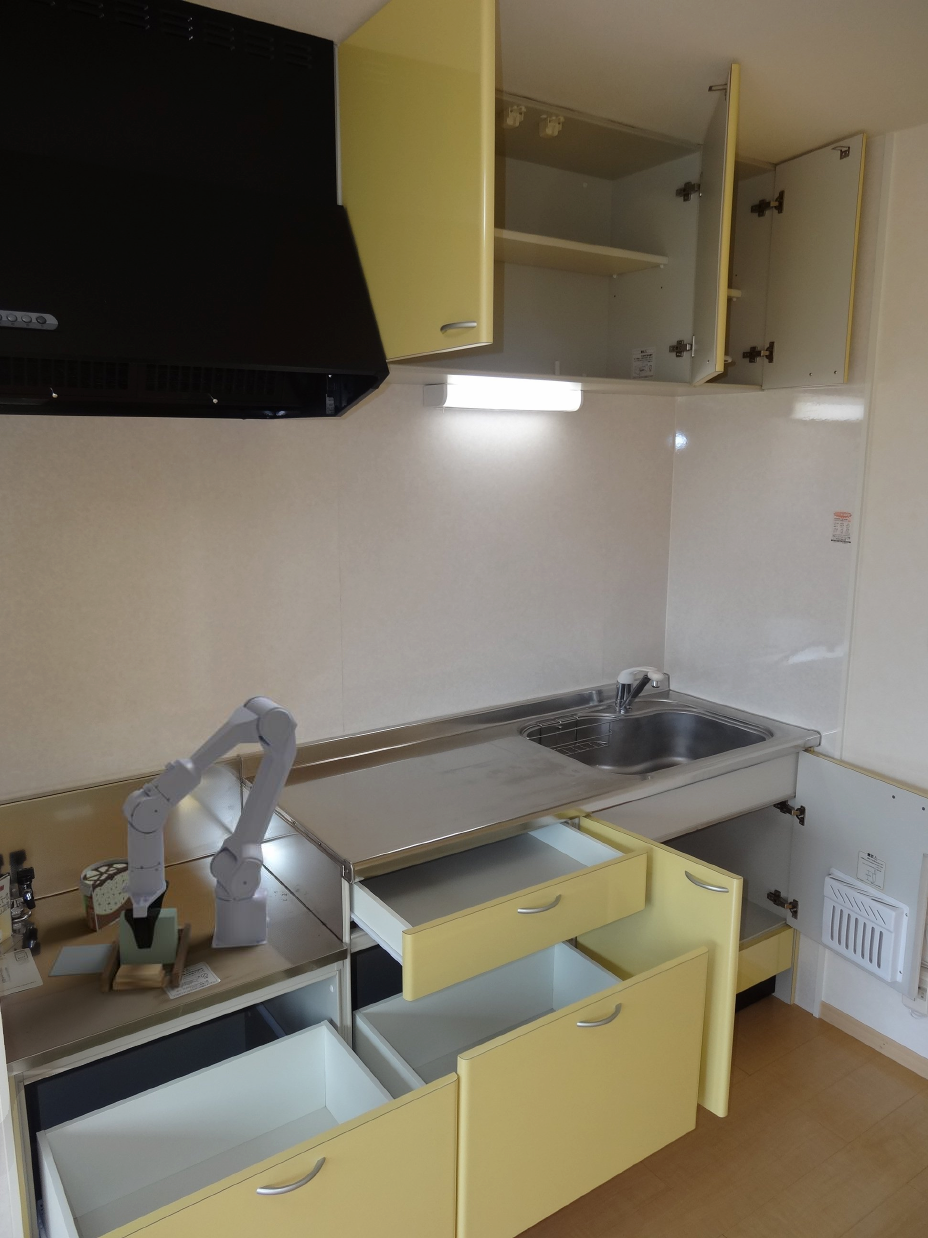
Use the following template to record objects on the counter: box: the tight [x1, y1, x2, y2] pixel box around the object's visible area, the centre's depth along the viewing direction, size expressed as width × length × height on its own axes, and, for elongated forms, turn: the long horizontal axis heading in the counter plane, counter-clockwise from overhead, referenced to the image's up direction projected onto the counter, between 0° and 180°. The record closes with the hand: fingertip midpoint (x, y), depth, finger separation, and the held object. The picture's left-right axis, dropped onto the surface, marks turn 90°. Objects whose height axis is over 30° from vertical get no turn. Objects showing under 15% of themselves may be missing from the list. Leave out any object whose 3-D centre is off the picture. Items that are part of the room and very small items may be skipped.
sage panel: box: [118, 907, 179, 966], centre depth 153 cm, size 9×3×9 cm, turn 100°
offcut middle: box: [112, 969, 166, 990], centre depth 147 cm, size 8×3×1 cm, turn 97°
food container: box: [77, 857, 133, 932], centre depth 167 cm, size 12×6×10 cm, turn 159°
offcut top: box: [115, 964, 164, 982], centre depth 146 cm, size 7×3×1 cm, turn 95°
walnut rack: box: [100, 922, 193, 994], centre depth 153 cm, size 12×17×3 cm
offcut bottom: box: [113, 975, 172, 991], centre depth 147 cm, size 8×3×1 cm, turn 99°
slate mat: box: [48, 943, 114, 977], centre depth 153 cm, size 9×9×1 cm
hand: (148, 936), depth 153 cm, fingers open, 7 cm apart
